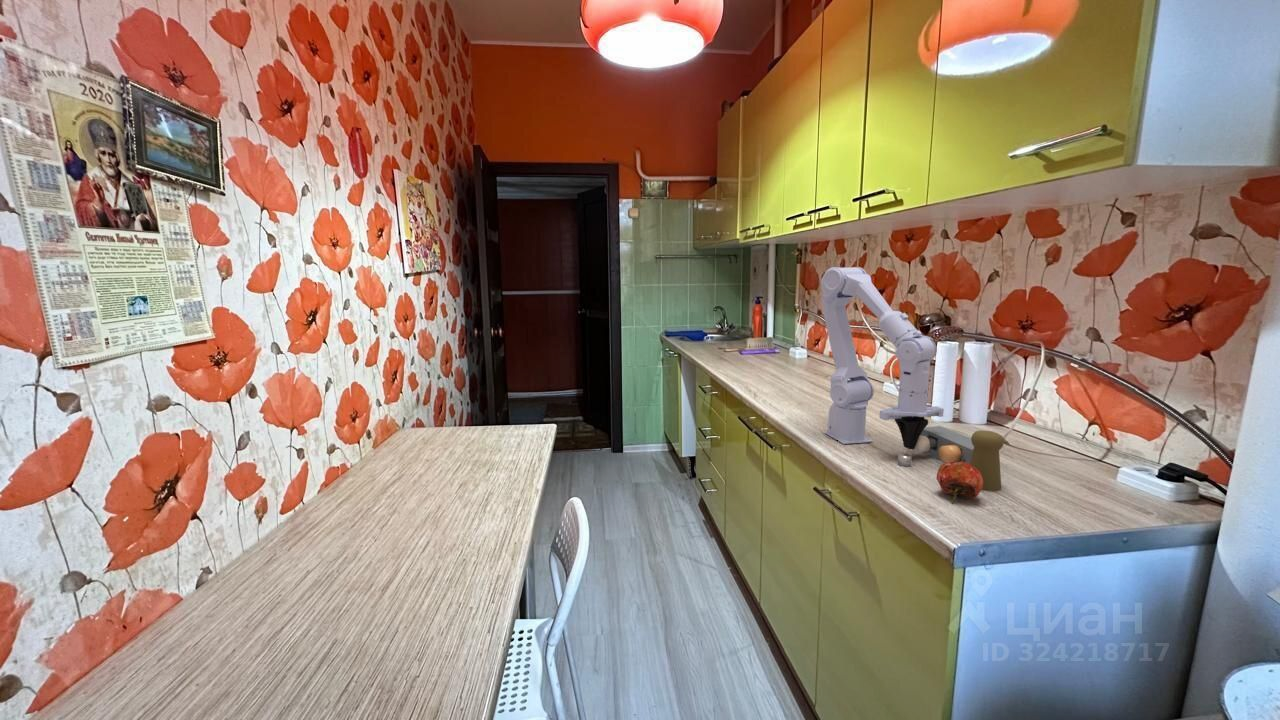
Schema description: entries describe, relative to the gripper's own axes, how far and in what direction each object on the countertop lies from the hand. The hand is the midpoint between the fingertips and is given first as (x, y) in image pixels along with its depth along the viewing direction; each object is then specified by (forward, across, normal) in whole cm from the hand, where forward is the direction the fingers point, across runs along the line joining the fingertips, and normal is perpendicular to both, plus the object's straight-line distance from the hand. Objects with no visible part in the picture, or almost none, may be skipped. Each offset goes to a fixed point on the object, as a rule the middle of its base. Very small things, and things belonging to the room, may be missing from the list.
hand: (909, 447), depth 113 cm
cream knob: (+1, +6, 0) cm, 6 cm away
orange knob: (+1, +8, -7) cm, 11 cm away
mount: (+2, +9, -3) cm, 10 cm away
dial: (+2, -4, -4) cm, 6 cm away
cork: (+3, +4, -16) cm, 17 cm away
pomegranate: (+3, -4, -20) cm, 21 cm away
